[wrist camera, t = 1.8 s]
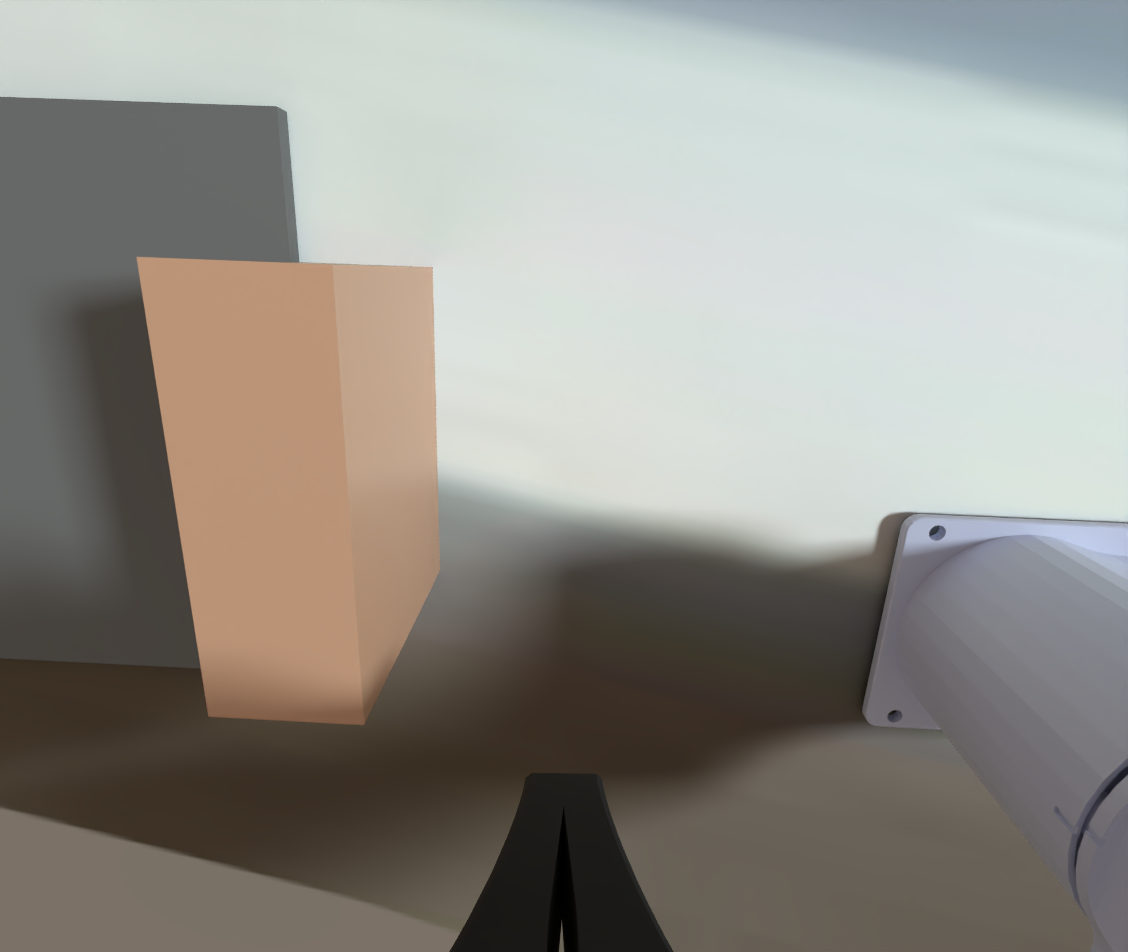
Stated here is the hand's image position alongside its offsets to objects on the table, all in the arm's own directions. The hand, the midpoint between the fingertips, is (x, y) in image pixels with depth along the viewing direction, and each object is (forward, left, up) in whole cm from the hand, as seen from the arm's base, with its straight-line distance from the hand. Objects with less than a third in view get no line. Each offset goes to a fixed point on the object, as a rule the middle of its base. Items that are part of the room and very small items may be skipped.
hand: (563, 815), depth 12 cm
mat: (+17, -5, -10) cm, 20 cm away
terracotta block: (+6, -5, -11) cm, 13 cm away
